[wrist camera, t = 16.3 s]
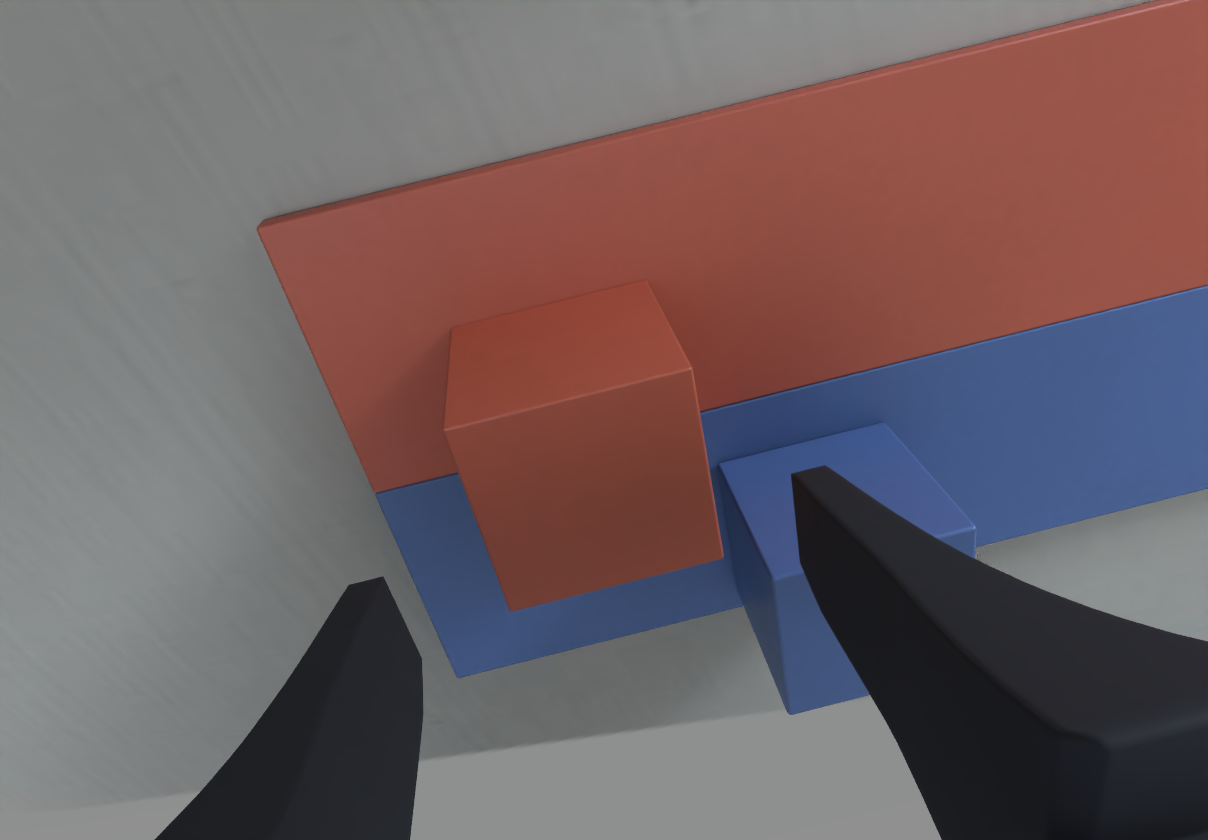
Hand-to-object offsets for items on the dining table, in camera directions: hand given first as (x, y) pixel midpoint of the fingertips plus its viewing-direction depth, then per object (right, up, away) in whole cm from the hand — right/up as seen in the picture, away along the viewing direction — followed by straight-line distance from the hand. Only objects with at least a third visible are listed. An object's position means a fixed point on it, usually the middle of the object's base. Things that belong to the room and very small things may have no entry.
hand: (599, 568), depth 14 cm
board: (+14, +6, +7) cm, 16 cm away
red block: (-1, +3, +5) cm, 6 cm away
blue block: (+6, 0, +8) cm, 10 cm away
